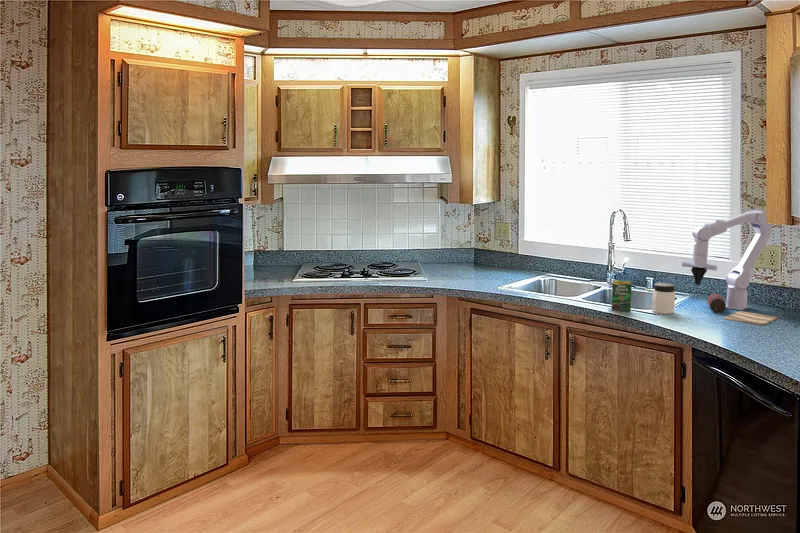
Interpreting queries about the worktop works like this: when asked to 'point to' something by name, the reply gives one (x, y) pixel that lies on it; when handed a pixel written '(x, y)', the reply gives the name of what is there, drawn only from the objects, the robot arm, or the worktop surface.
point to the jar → (663, 298)
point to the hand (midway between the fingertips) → (697, 284)
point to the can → (716, 303)
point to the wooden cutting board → (750, 318)
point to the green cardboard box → (621, 295)
